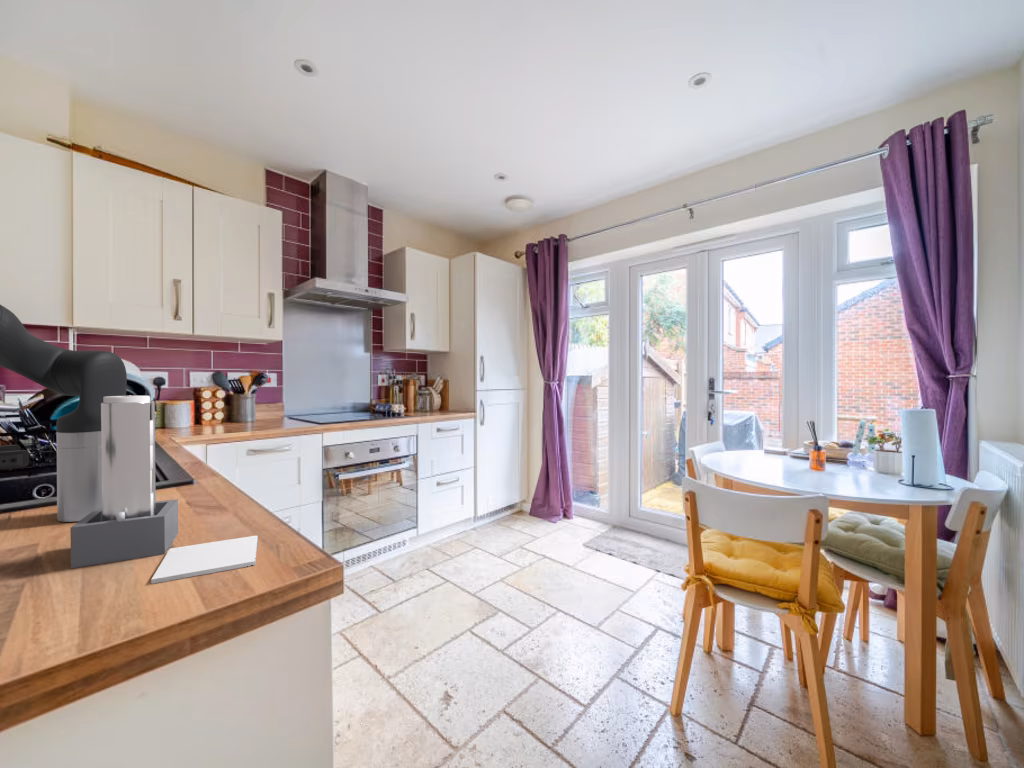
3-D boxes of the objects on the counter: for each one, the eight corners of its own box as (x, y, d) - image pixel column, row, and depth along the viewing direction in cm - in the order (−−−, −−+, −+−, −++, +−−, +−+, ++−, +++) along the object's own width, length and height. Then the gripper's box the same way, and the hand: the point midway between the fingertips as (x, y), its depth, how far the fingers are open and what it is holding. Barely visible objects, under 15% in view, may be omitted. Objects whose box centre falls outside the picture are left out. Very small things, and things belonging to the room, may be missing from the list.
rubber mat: (170, 552, 68) (170, 548, 68) (257, 538, 74) (257, 535, 74) (151, 583, 58) (151, 579, 58) (254, 565, 64) (254, 561, 64)
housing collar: (97, 543, 72) (97, 500, 72) (178, 532, 77) (177, 492, 77) (70, 568, 62) (70, 519, 62) (164, 553, 68) (164, 508, 67)
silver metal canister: (124, 558, 66) (122, 396, 65) (91, 554, 67) (89, 395, 67) (166, 542, 72) (164, 394, 72) (135, 539, 73) (134, 394, 73)
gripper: (-210, 445, 43) (32, 431, 56) (-188, 435, 51) (18, 425, 64) (-210, 520, 43) (32, 488, 56) (-189, 498, 51) (17, 475, 64)
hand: (24, 454), depth 60 cm, fingers open, 8 cm apart
